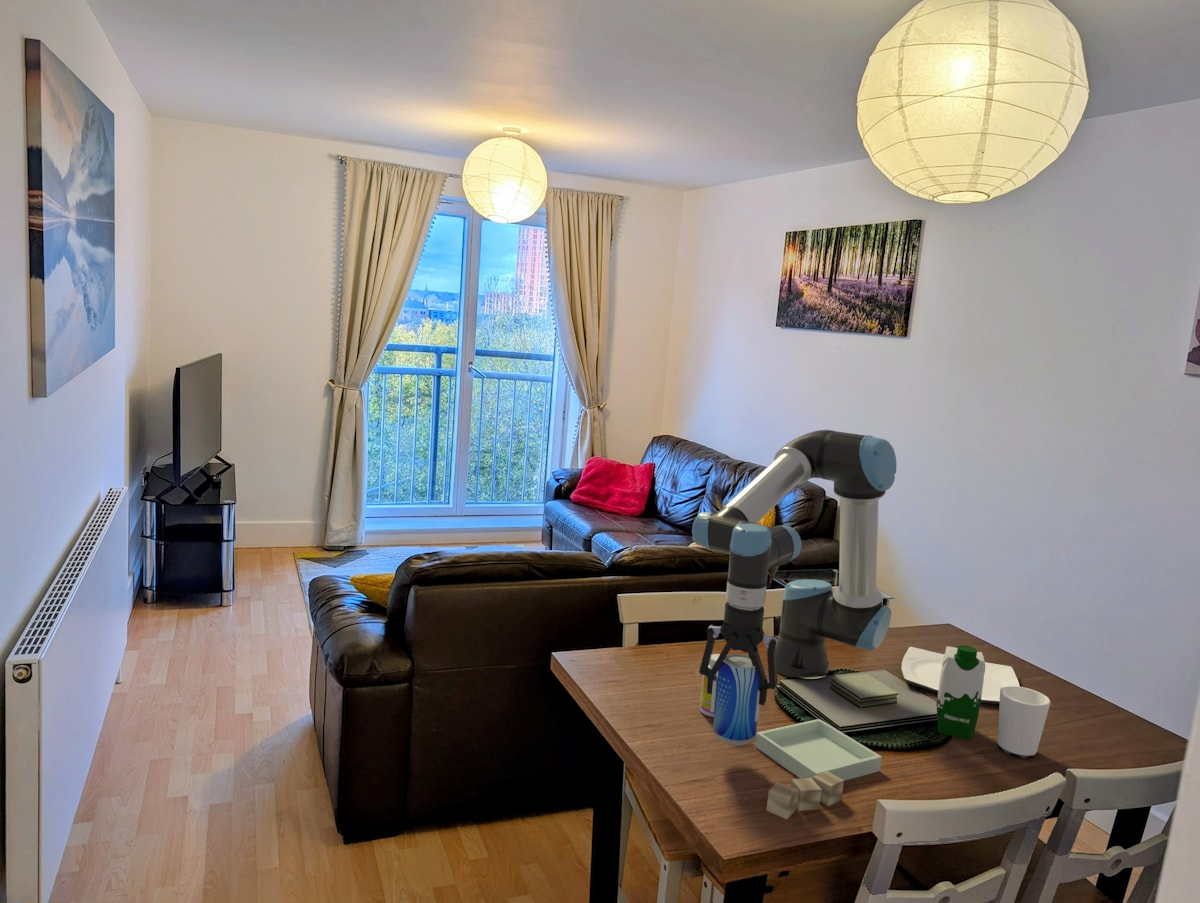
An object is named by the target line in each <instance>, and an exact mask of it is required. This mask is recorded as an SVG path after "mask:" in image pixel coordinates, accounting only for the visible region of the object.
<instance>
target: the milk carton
mask: <svg viewBox="0 0 1200 903" xmlns="http://www.w3.org/2000/svg"><path fill="white" fill-rule="evenodd" d="M944 654H945V655H944V658H943V661H942V669H941V675H940V682H939V689H938V693H937V697H936V718H937V722H938V723H937V732H941V733H945V734H948V735H947V736H949V737H950V736H951V737H955V738H960V739H965V740H969V741H973V737H974V735H975V730H976V728H977V724H978V719H979V714H980V708H981V703H982V702H981V696H982V689H983V682H984V673H985V662H986V661H985V656H984V655H983V652H982V651H978V649H976V648H975V647H973V646H970V645H969V646H968V645H957V647H954V646H945V652H944ZM945 734H944V735H945Z"/></svg>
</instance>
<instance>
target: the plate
mask: <svg viewBox="0 0 1200 903" xmlns="http://www.w3.org/2000/svg"><path fill="white" fill-rule="evenodd" d="M944 655H945V653H939V652H935V651H930V650H927V649H923V648H919V647H918V648H917V647H914V646H909V647H908V649H907V651H906V652H905V654H904V656H903V658H902V661H901V668H900V669H901V670H900V671H901V674H902V676H903V680H904V681H905V682H906V683H907V684H909V685H912V686H915V687H918V688H921V689H925V690H928V691H930V692H933V693H937V694H938V689H939V682H940V675H941V669H942V661H943V658H944ZM1005 686H1018V687H1021V686H1020V683H1019V680H1018V677H1017V675H1016V673H1015V671H1014V669H1013V666H1010V665H1005V664H999V663H998V664H997V663H992V662H986V661H985V673H984V682H983V689H982V696H981V702H980V703H985V704H994V705H996V704H997V705H999V703H1000V689H1001V688H1002V687H1005Z"/></svg>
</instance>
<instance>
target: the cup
mask: <svg viewBox="0 0 1200 903" xmlns="http://www.w3.org/2000/svg"><path fill="white" fill-rule="evenodd" d="M998 705H999V709H998V730H997V733H998V734H997V745H998V747H999V748H1001V749H1002V751H1003V752H1004V753H1005V754H1007V755H1011V754H1014V755H1016V756H1018V757H1019V758H1021V759H1027V758H1028V757H1036V754H1037V751H1038V748H1039V745H1040V742H1041V738H1042V733H1043V731H1044V728H1045V723H1046V720H1047V717H1048V713H1049V710H1050V706H1051V700H1050V698H1049V696H1046V695H1045V694H1043V693H1042V692H1039V691H1037V690H1034V689H1031V688H1027V687H1024V686H1020V687H1018V686H1005V687H1002V688H1001V689H1000V703H999V704H998Z"/></svg>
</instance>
